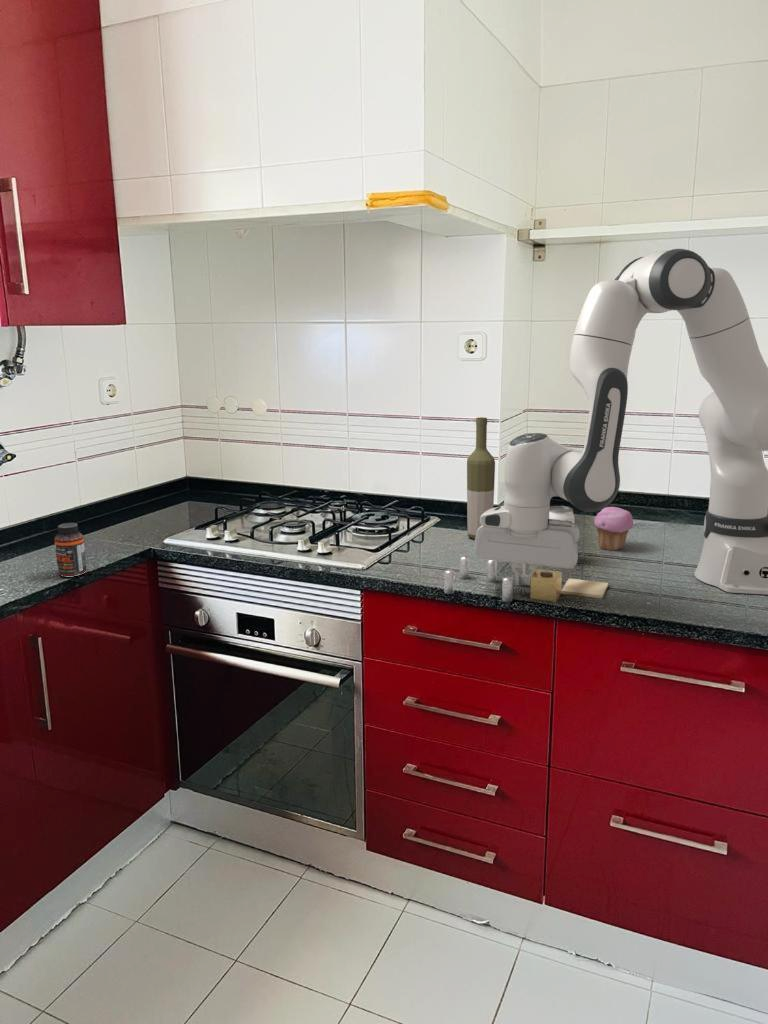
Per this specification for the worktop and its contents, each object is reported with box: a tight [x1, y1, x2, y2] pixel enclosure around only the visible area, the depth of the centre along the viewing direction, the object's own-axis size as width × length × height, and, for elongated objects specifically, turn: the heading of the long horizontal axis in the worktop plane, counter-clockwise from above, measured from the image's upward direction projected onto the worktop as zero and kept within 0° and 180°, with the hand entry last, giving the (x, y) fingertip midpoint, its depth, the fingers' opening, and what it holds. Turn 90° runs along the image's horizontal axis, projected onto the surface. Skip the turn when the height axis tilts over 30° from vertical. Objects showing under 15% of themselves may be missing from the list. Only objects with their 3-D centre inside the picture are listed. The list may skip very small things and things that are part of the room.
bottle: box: [466, 416, 496, 540], centre depth 194 cm, size 7×7×30 cm
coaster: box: [561, 577, 609, 599], centre depth 159 cm, size 8×8×1 cm
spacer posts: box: [443, 555, 526, 603], centre depth 160 cm, size 14×12×4 cm
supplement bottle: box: [54, 522, 87, 576], centre depth 172 cm, size 6×6×11 cm
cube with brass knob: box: [530, 568, 563, 603], centre depth 155 cm, size 5×5×5 cm
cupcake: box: [593, 506, 634, 551], centre depth 185 cm, size 9×9×10 cm
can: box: [549, 505, 575, 527], centre depth 176 cm, size 6×6×12 cm
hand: (524, 584), depth 157 cm, fingers closed
